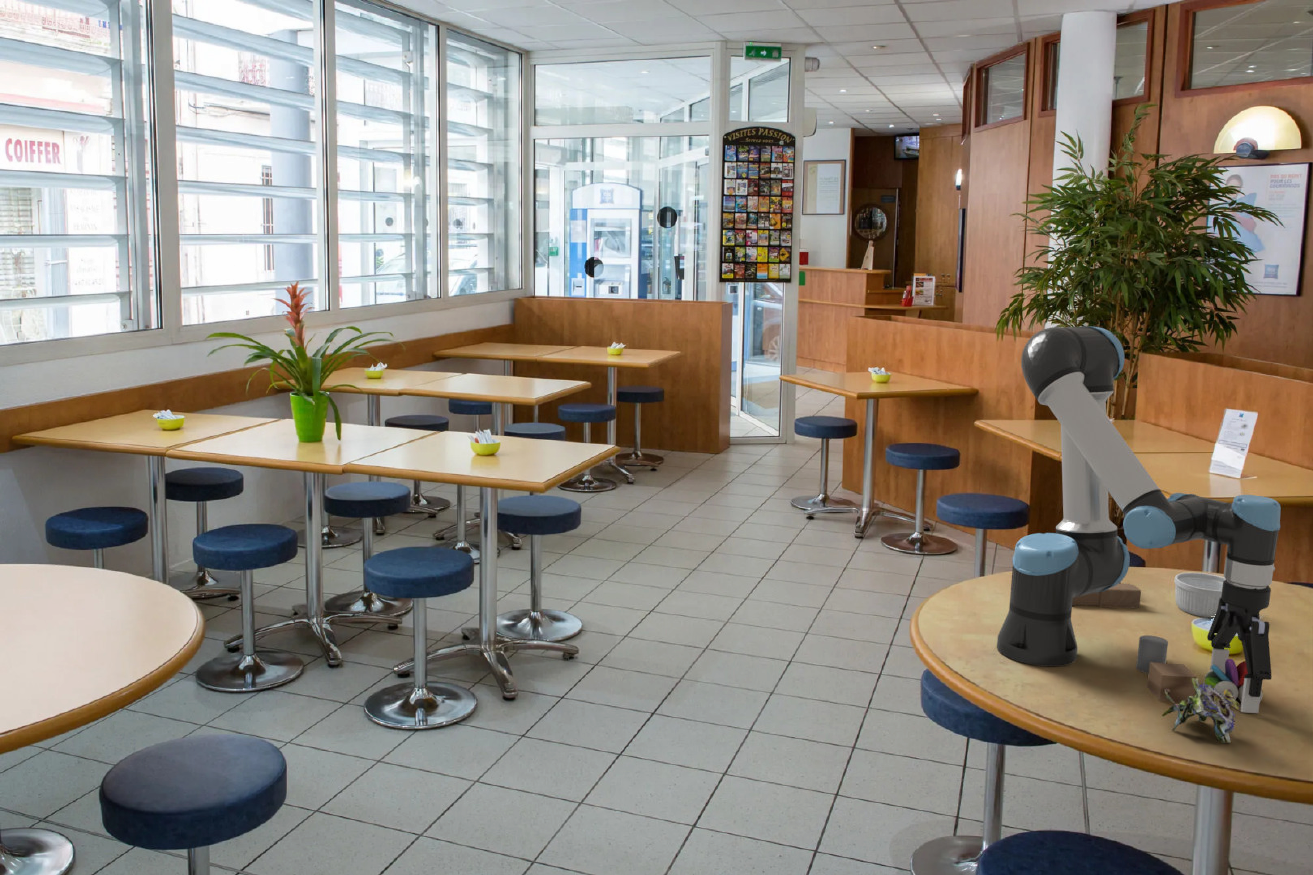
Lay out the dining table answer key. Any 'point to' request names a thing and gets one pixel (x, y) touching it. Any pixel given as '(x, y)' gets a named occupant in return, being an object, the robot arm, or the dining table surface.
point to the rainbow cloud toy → (1228, 678)
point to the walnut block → (1170, 681)
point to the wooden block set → (1112, 597)
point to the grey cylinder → (1151, 652)
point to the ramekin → (1198, 593)
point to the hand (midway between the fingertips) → (1232, 696)
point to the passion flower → (1207, 709)
